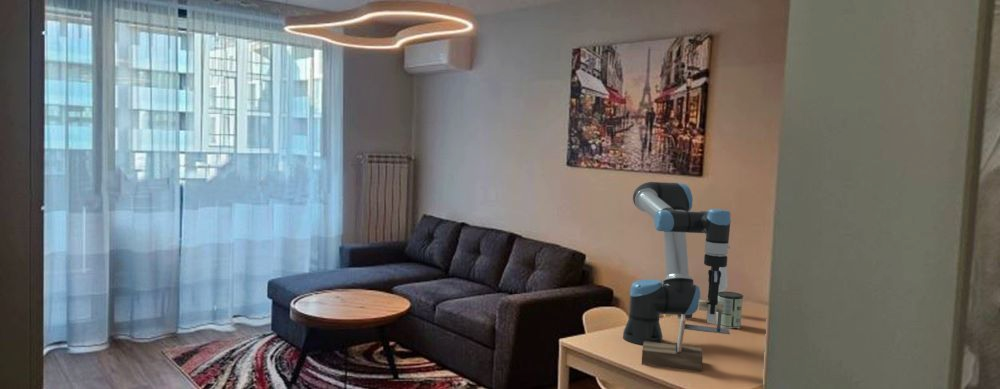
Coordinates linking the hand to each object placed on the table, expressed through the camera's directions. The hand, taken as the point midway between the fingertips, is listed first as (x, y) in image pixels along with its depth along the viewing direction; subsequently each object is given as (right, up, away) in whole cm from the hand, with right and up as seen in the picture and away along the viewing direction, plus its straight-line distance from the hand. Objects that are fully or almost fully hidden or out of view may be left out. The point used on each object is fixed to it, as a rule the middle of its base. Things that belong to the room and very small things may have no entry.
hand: (710, 321), depth 232 cm
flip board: (-13, -15, +4) cm, 20 cm away
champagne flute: (+29, -12, +84) cm, 90 cm away
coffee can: (+27, -14, +61) cm, 68 cm away
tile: (-9, -5, +2) cm, 10 cm away
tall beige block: (-1, -3, +1) cm, 3 cm away
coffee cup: (+10, -12, +71) cm, 73 cm away
